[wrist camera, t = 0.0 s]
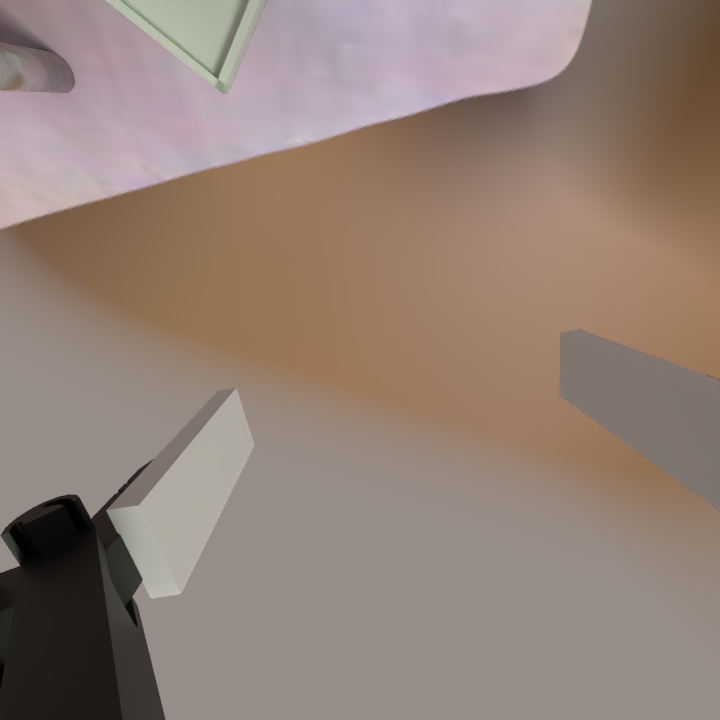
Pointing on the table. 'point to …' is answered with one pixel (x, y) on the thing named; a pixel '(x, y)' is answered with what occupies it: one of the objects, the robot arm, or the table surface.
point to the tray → (199, 32)
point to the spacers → (33, 70)
